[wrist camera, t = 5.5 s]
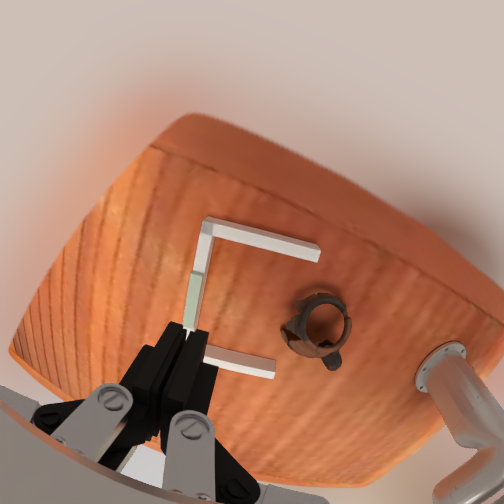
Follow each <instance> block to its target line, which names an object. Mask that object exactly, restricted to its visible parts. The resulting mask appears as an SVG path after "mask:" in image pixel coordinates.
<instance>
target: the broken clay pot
mask: <svg viewBox="0 0 504 504" xmlns="http://www.w3.org/2000/svg"><path fill="white" fill-rule="evenodd" d="M321 304H332V305H334V306H336V307H337V308H338V309H339V310H340V311H341V312H342V314H343V316H344V331H343V334H342V336H341V337H340V339H339V340H338V341H337V342H336V343H335V344H333V343H332V342H330V341H329V340H325V341H324V342H322V343H319V345H318V346H317V345H316V344H314V343H313V342H312V341H311V340H310V338H309V337H308V335H307V331H306V322H307V318H308V316H309V314H310V313H311V311H312V310H313V309H314V308H315V307H317V306H318V305H321ZM294 305H295V306H296V307H297V309H298V311H299V313H300V315H297V316H294V317H293V318H292V319H291V320H290V321H288V322H287V325H286V329H287V330H290V331H291V332H292V333H293V334H295V335H297V336H298V337H299V338H301V339H299V340H289V338H288V337H287V336H286V333H285V331H284V329H283V328H281V329H280V331H281V334H282V337H283V339H284V341H285V342H286V343H287V345H288V346H289V348H290V349H292V350H293V351H294V352H296V353H297V354H299V355H302V356H305V357H308V358H315V357H316V358H321V359H322V361H323V363H324V364H325V366H326V367H327V369H328V370H330V371H336V370H337V369H338V368H339V367H340V366H341V364H342V359H341V356H340V353H339V349H340V348H341V347H342V346H343V345H344V344H345V342H346V341H347V339H348V337H349V335H350V332H351V328H352V320H351V318H350V317H348V315H347V310H346V305H345V304H344V303H342V302H341V301H340V299H339V298H337V297H336V296H333V295H331V294H328V293H318V294H317V295H316V294H313V295H311V296H309V297H307V298H306V299H304V300H301V301H298V302H296V303H294Z"/></svg>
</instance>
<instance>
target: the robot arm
mask: <svg viewBox="0 0 504 504" xmlns="http://www.w3.org/2000/svg"><path fill="white" fill-rule="evenodd" d="M186 335H187V329H183V325H182V324H178V323H175V322H172V321H170V323H169V324H168V326H167V327H166V329H165V331H164V332H163V334H162V336H161V337H160V339H159V341H158V342H157V344H156V345H155V347H152V346H149V345H144V346H143V347H142V349H141V350H140V352H139V353H138V355H137V357H136V358H135V360H134V361H133V363H132V364H131V366H130V367H129V369H128V371H127V372H126V374H125V375H124V377H123V378H122V380H121V382H120V383H119V385H118V384H113V383H108V384H103V385H100V386H99V387H98V388H96V389H95V390H94V391H93V392H92V393H91V394H90V395H89V396H88V397H87V398H86V399H82V400H75V401H69V402H62V403H55V404H47V405H43V406H42V405H39V403H38V402H37V401H35V400H32V399H30V398H28V397H25V396H23V395H21V394H19V393H17V392H14V391H12V390H10V389H8V388H6V387H4V386H0V504H329V502H328V501H327V500H326V499H325V498H323V497H320V496H317V495H312V494H307V493H302V492H297V491H293V490H289V489H284V488H281V487H277V486H274V485H270V484H269V485H268V486H267V485H263V484H260V483H257V481H256V480H255V479H254V478H253V477H252V476H251V475H250V474H249V473H248V472H247V471H246V470H245V469H244V468H243V467H242V466H241V465H240V464H239V463H238V462H237V461H236V460H235V459H234V458H233V457H232V456H231V455H230V454H229V452H228V451H227V450H226V449H225V448H224V447H223V446H222V445H221V444H220V443H219V441H218V440H217V439H216V438H215V429H214V424H213V423H212V421H211V420H210V419H209V418H208V417H207V412H208V408H209V404H210V400H211V396H212V392H213V388H214V384H215V380H216V376H217V372H218V368H219V366H216V365H212V364H208V363H204V362H203V360H204V355H205V350H206V345H207V340H208V336H209V332H206V331H202V330H199V329H196V330H195V332H193V331H190V333H189V335H188V337H187V339H186ZM465 358H466V349H465V347H464V346H463V345H462V344H461V343H460V342H456V341H453V342H449V343H446V344H444V345H442V346H440V347H438V348H437V349H435V350H434V351H433V352H432V353H431V354H430V355H429V356H428V357H427V358H426V359H425V360H424V361H423V362H422V364H421V365H420V367H419V369H418V371H417V373H416V376H415V385H416V387H417V389H418V390H419V391H421V392H424V393H428V392H429V394H430V396H431V398H432V399H433V401H434V403H435V405H436V406H437V408H438V410H439V412H440V414H441V416H442V417H443V419H444V421H445V423H446V425H447V427H448V429H449V431H450V433H451V434H452V436H453V438H454V440H455V442H456V443H457V444H458V445H459V446H461V447H464V448H474V449H477V450H478V451H477V453H476V454H475V455H474V456H473V457H472V458H471V459H470V460H468V461H467V462H466V463H464V464H463V465H462V466H460V467H459V468H458V469H456V470H455V471H453V472H452V473H451V474H449V475H448V476H447V477H445V478H444V479H442V480H441V481H440V482H439V483H438V484H437V485H436V486H435V488H434V490H433V495H432V497H433V498H432V499H433V504H481V503H483V502H484V501H486V500H487V499H488V498H490V497H492V496H493V495H494V494H496V493H497V492H498V491H500V490H501V489H502V488H504V410H503V409H502V407H501V406H500V404H499V403H498V402H497V400H496V399H495V398H494V396H493V395H492V393H491V392H490V391H489V390H488V388H487V387H486V386H485V384H484V383H483V382H482V380H481V379H480V378H479V376H478V375H477V374H476V373H475V371H474V369H473V367H471V366H470V365H469V364H468V363H467V361H466V360H465ZM159 431H160V438H161V450H162V451H163V453H164V454H165V456H166V459H165V467H164V475H163V485H162V489H161V488H158V487H155V486H152V485H149V484H146V483H143V482H141V481H138V480H135V479H133V478H130V477H127V476H125V475H122V474H120V472H121V471H122V469H123V468H124V466H125V465H126V463H127V462H128V461H129V459H130V457H131V456H132V455H133V453H134V452H135V450H136V448H137V446H138V445H140V444H143V443H145V441H146V440H147V441H149V442H150V440H151V438H152V436H155V437H157V436H158V433H159ZM492 504H504V495H503V496H502V497H500V498H499V499H498V500H496V501H495V502H494V503H492Z"/></svg>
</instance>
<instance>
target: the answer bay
mask: <svg viewBox="0 0 504 504" xmlns="http://www.w3.org/2000/svg"><path fill="white" fill-rule="evenodd" d="M215 236H216V237H220V238H224V239H228V240H232V241H235V242H239V243H243V244H247V245H251V246H255V247H259V248H263V249H267V250H271V251H274V252H278V253H282V254H286V255H290V256H294V257H298V258H301V259H305V260H309V261H313V262H318V259H319V256H320V253H321V250H320V249H319V247H318V245H317V244H313V243H310V242H306V241H302V240H299V239H295V238H291V237H287V236H283V235H280V234H276V233H272V232H268V231H264V230H261V229H257V228H253V227H249V226H245V225H241V224H237V223H233V222H229V221H225V220H221V219H217V218H213V217H209V216H208V217H206V218H205V219H204V220H202V225H201V230H200V235H199V240H198V245H197V251H196V256H195V261H194V267H193V271H192V272H191V275H190V281H189V286H188V293H187V299H186V305H185V312H184V318H183V327H184V328H183V329H187V335H186V339H187V337H188V335H189V333H190V331H193V332H195V330H196V329H197V326H198V321H199V315H200V310H201V304H202V299H203V294H204V289H205V284H206V279H207V274H208V269H209V264H210V259H211V254H212V249H213V245H214V240H215ZM203 362H204V363H208V364H212V365H216V366H219V367H220V368H224V369H228V370H232V371H236V372H241V373H245V374H250V375H254V376H259V377H264V378H269V379H273V377H274V375H275V373H276V364H275V360H272V359H267V358H262V357H258V356H253V355H249V354H244V353H240V352H236V351H232V350H228V349H224V348H220V347H216V346H212V345H209V344H207V345H206V350H205V355H204V360H203Z"/></svg>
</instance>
